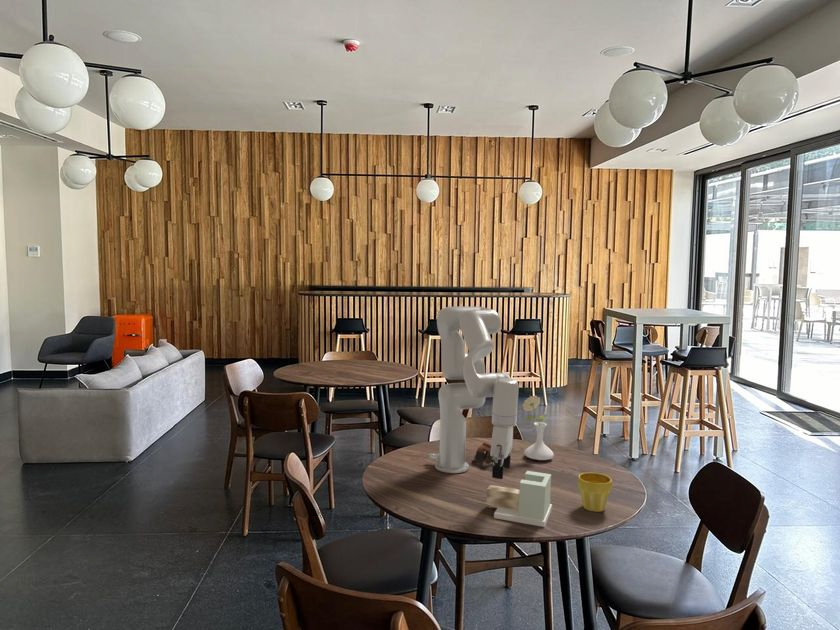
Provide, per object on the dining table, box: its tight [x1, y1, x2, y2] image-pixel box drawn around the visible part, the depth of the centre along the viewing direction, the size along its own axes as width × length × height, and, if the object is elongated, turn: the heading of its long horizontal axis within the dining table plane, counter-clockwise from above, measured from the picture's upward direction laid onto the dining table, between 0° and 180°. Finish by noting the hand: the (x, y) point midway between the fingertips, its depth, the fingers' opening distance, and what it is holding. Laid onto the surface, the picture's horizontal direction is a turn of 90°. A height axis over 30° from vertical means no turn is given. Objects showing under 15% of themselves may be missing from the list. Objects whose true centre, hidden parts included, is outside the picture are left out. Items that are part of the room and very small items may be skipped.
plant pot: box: [577, 471, 613, 513], centre depth 188 cm, size 10×10×10 cm
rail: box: [486, 484, 520, 510], centre depth 184 cm, size 16×4×6 cm, turn 70°
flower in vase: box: [521, 395, 555, 461], centre depth 235 cm, size 13×11×25 cm
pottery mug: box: [473, 442, 500, 466], centre depth 229 cm, size 12×10×8 cm
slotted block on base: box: [493, 470, 553, 528], centre depth 183 cm, size 15×14×12 cm
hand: (501, 472), depth 185 cm, fingers open, 9 cm apart
